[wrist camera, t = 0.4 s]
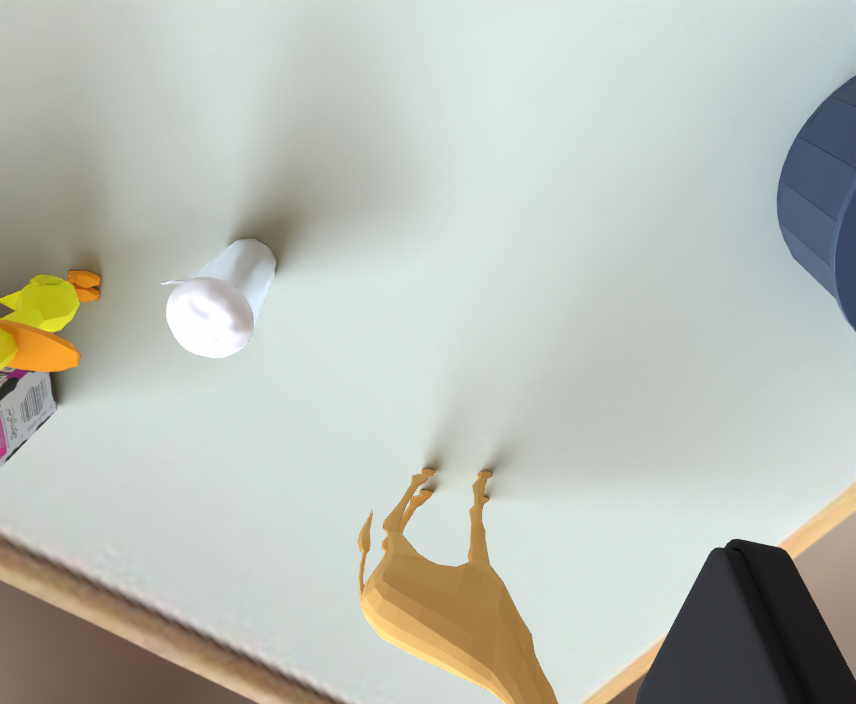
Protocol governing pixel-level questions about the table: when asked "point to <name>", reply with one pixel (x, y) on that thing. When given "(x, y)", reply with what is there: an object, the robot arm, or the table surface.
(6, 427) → the candy bar box
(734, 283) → the table surface
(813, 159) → the blue cooking pot
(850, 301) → the lid
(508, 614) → the giraffe
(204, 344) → the milkshake
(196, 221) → the table surface
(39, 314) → the toy figure
